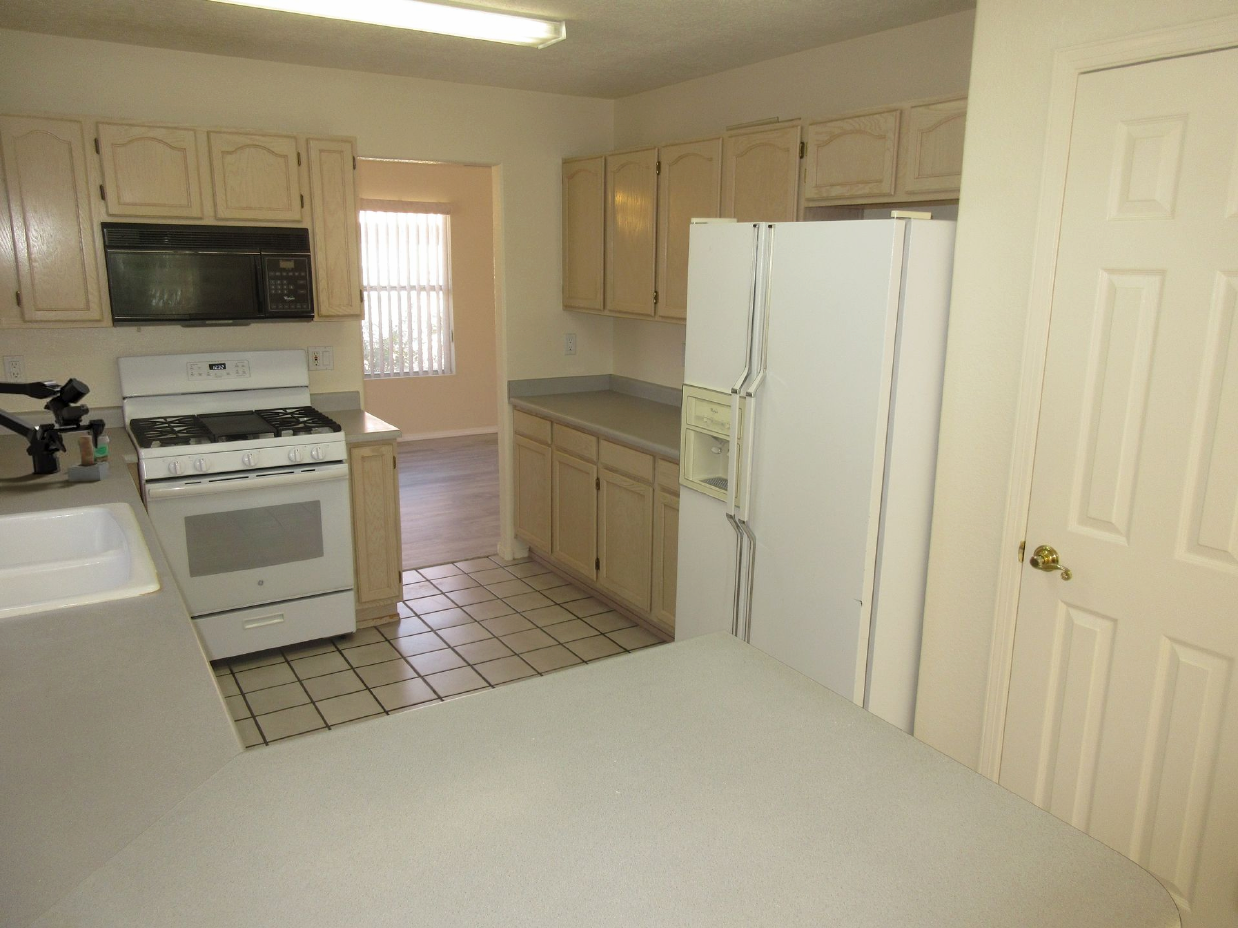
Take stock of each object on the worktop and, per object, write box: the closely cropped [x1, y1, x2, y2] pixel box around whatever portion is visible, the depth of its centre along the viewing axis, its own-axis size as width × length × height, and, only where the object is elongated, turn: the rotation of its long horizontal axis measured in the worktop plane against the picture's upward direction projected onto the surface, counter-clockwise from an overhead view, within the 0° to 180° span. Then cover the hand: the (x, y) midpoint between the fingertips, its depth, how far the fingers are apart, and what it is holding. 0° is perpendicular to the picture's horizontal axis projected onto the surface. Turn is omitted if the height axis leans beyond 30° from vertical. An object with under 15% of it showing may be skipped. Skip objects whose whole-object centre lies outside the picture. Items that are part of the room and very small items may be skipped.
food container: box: [77, 433, 110, 462], centre depth 301 cm, size 12×6×10 cm, turn 179°
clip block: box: [66, 461, 111, 483], centre depth 279 cm, size 9×9×4 cm
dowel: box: [78, 435, 95, 466], centre depth 278 cm, size 4×4×12 cm
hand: (81, 449), depth 280 cm, fingers open, 9 cm apart
